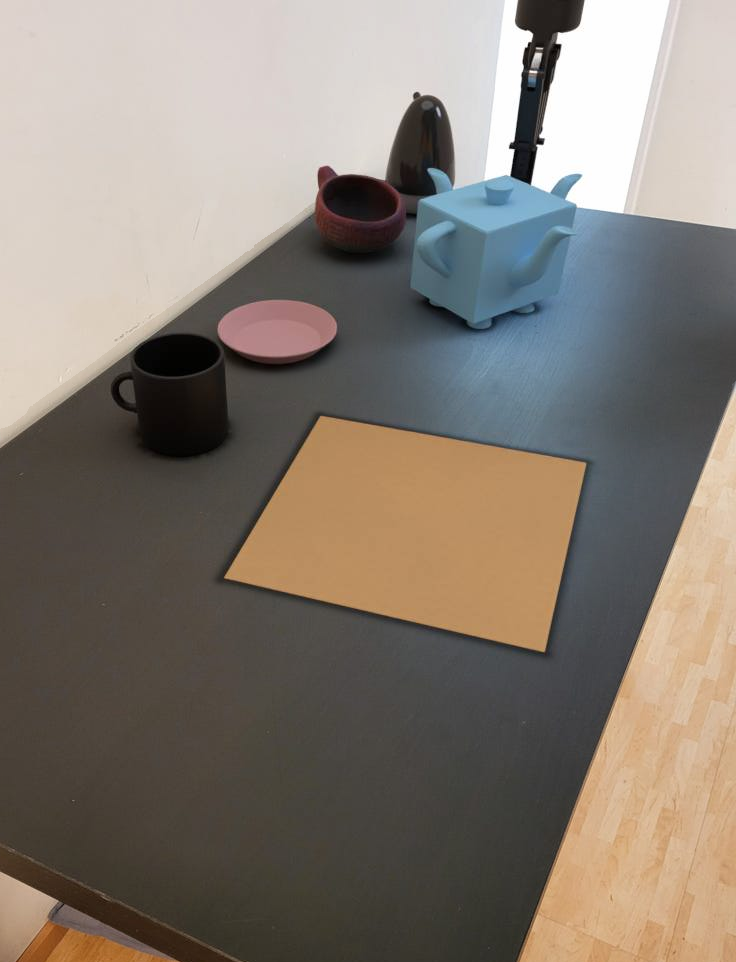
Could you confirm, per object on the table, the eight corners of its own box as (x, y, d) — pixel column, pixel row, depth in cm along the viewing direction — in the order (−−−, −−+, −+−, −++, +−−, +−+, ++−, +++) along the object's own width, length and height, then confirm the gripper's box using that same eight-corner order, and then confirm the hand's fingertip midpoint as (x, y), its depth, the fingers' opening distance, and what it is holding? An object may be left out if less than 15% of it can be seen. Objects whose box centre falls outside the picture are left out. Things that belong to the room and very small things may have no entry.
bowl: (420, 240, 133) (426, 181, 127) (375, 273, 126) (379, 212, 120) (324, 218, 140) (325, 160, 134) (276, 248, 132) (275, 189, 127)
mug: (125, 407, 104) (114, 330, 97) (233, 409, 103) (229, 332, 96) (108, 455, 97) (95, 376, 90) (223, 458, 96) (218, 379, 89)
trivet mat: (586, 464, 94) (586, 462, 94) (544, 653, 76) (544, 652, 76) (320, 417, 101) (320, 415, 101) (223, 579, 83) (223, 577, 83)
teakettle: (401, 333, 114) (412, 208, 103) (416, 267, 127) (428, 150, 116) (561, 345, 111) (589, 218, 100) (560, 276, 123) (585, 157, 113)
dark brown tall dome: (439, 192, 146) (450, 82, 135) (460, 217, 138) (474, 103, 128) (375, 198, 145) (382, 87, 134) (393, 223, 137) (402, 109, 127)
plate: (360, 347, 112) (361, 331, 110) (262, 385, 106) (262, 368, 105) (290, 304, 120) (290, 289, 119) (195, 337, 114) (194, 321, 113)
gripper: (529, -27, 112) (498, 180, 129) (510, -2, 104) (479, 215, 121) (593, -24, 110) (553, 185, 127) (579, 1, 102) (538, 222, 119)
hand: (517, 200), depth 124 cm, fingers closed
